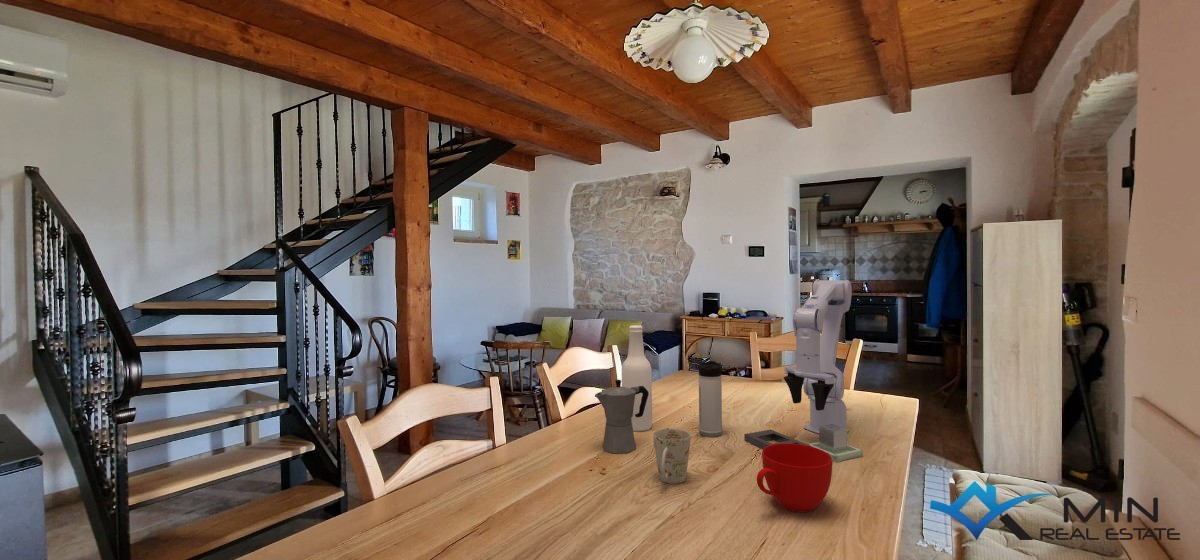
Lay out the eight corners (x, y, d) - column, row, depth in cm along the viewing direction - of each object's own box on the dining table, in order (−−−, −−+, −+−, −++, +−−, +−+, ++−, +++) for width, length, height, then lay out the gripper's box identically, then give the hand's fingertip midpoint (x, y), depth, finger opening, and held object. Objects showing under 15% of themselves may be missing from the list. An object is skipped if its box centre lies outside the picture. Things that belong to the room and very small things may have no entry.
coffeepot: (603, 458, 128) (602, 386, 127) (589, 446, 137) (588, 378, 136) (657, 448, 134) (656, 379, 133) (640, 437, 143) (639, 373, 142)
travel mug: (724, 431, 147) (723, 361, 146) (719, 438, 141) (718, 365, 140) (702, 428, 149) (701, 360, 149) (696, 435, 143) (696, 364, 143)
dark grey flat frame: (744, 440, 138) (744, 434, 138) (770, 435, 142) (770, 429, 142) (800, 467, 120) (800, 459, 120) (828, 460, 124) (828, 453, 124)
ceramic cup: (734, 504, 102) (733, 454, 102) (792, 485, 111) (792, 439, 110) (786, 533, 91) (786, 477, 91) (847, 509, 99) (847, 458, 99)
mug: (693, 473, 118) (693, 429, 118) (684, 496, 106) (684, 448, 106) (658, 468, 120) (657, 426, 120) (645, 491, 109) (644, 444, 108)
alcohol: (616, 428, 151) (614, 326, 150) (634, 421, 158) (632, 323, 157) (640, 434, 145) (639, 328, 144) (658, 426, 152) (656, 325, 151)
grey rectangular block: (832, 447, 131) (832, 423, 131) (847, 453, 127) (847, 429, 127) (819, 450, 129) (819, 426, 129) (833, 455, 125) (833, 431, 125)
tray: (832, 444, 134) (832, 439, 134) (862, 456, 126) (862, 450, 126) (806, 450, 131) (806, 444, 131) (835, 462, 123) (835, 456, 122)
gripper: (775, 351, 138) (776, 401, 139) (819, 359, 125) (819, 415, 125) (795, 349, 141) (795, 398, 142) (839, 357, 128) (840, 411, 128)
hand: (808, 406), depth 134 cm, fingers open, 7 cm apart
